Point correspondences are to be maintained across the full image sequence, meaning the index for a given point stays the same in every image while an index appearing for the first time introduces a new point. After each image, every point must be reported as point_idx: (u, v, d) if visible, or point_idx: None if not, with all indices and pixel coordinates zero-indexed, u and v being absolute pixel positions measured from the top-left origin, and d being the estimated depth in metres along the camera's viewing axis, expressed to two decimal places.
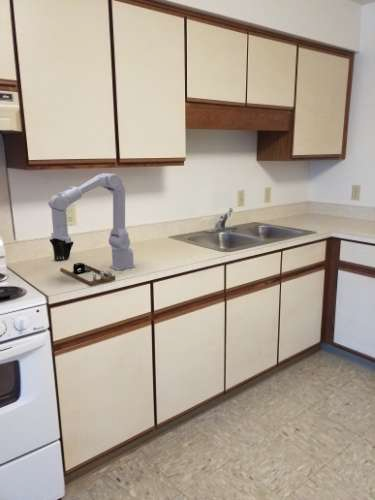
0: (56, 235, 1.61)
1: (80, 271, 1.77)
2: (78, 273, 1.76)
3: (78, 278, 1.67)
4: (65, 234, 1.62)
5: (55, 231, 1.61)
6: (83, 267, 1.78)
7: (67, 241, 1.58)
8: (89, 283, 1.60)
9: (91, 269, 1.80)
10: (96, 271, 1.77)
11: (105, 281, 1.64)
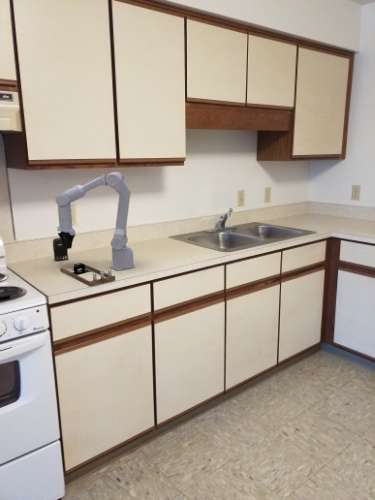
0: (62, 228, 1.79)
1: (80, 271, 1.77)
2: (78, 273, 1.76)
3: (78, 278, 1.67)
4: (70, 227, 1.80)
5: (61, 225, 1.79)
6: (83, 267, 1.78)
7: (72, 233, 1.76)
8: (89, 283, 1.60)
9: (91, 269, 1.80)
10: (96, 271, 1.77)
11: (105, 281, 1.64)
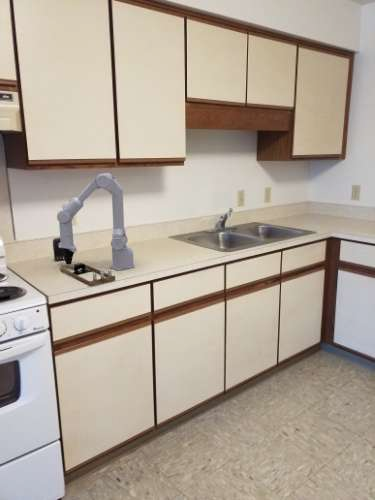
0: (63, 245, 1.81)
1: (81, 271, 1.77)
2: (79, 273, 1.75)
3: (78, 278, 1.67)
4: (71, 244, 1.82)
5: (62, 241, 1.81)
6: (84, 267, 1.78)
7: (73, 250, 1.78)
8: (89, 283, 1.60)
9: (91, 269, 1.80)
10: (96, 271, 1.77)
11: (105, 281, 1.64)
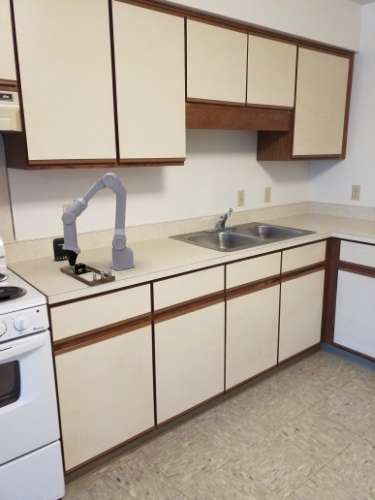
0: (67, 246, 1.78)
1: (81, 271, 1.77)
2: (79, 273, 1.75)
3: (78, 278, 1.67)
4: (75, 245, 1.79)
5: (66, 243, 1.78)
6: (84, 267, 1.77)
7: (77, 252, 1.75)
8: (89, 283, 1.60)
9: (91, 269, 1.80)
10: (96, 271, 1.77)
11: (105, 281, 1.64)
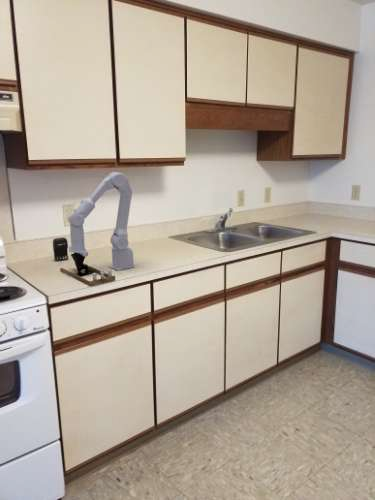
0: (74, 249, 1.73)
1: (84, 272, 1.75)
2: (82, 274, 1.74)
3: (78, 278, 1.67)
4: (82, 248, 1.74)
5: (73, 245, 1.73)
6: (87, 268, 1.76)
7: (84, 255, 1.70)
8: (89, 283, 1.60)
9: (91, 269, 1.80)
10: (96, 271, 1.77)
11: (105, 281, 1.64)
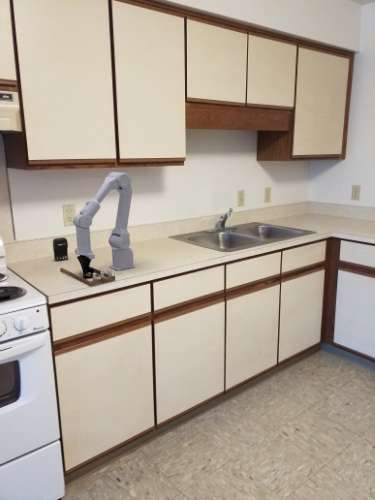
0: (80, 251, 1.69)
1: (89, 276, 1.71)
2: (87, 278, 1.69)
3: (78, 278, 1.67)
4: (88, 250, 1.70)
5: (79, 248, 1.68)
6: (93, 272, 1.71)
7: (91, 257, 1.66)
8: (89, 283, 1.60)
9: None
10: (96, 271, 1.77)
11: (105, 281, 1.64)
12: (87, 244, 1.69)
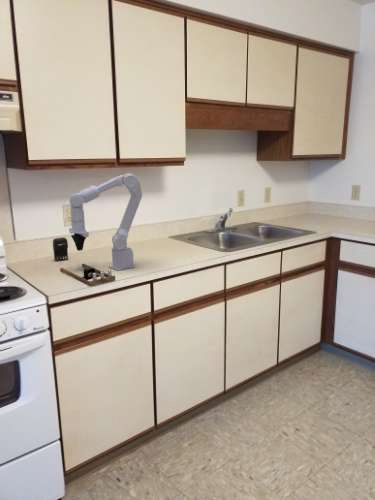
0: (74, 230, 1.75)
1: (90, 276, 1.70)
2: (88, 278, 1.69)
3: (78, 278, 1.67)
4: (83, 229, 1.76)
5: (74, 226, 1.74)
6: (94, 272, 1.71)
7: (85, 235, 1.72)
8: (89, 283, 1.60)
9: None
10: (96, 271, 1.77)
11: (105, 281, 1.64)
12: (81, 223, 1.75)
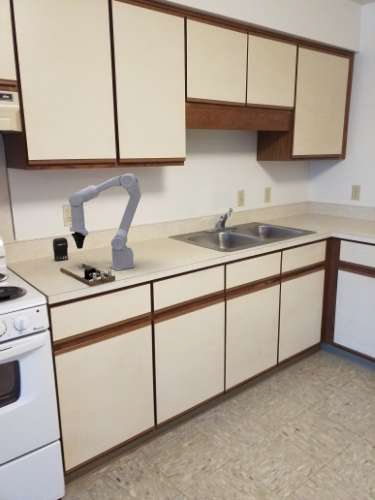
0: (74, 228, 1.78)
1: (92, 276, 1.70)
2: (90, 278, 1.69)
3: (78, 278, 1.67)
4: (82, 228, 1.79)
5: (74, 225, 1.78)
6: (94, 272, 1.71)
7: (85, 234, 1.76)
8: (89, 283, 1.60)
9: None
10: (96, 271, 1.77)
11: (105, 281, 1.64)
12: (81, 221, 1.78)
